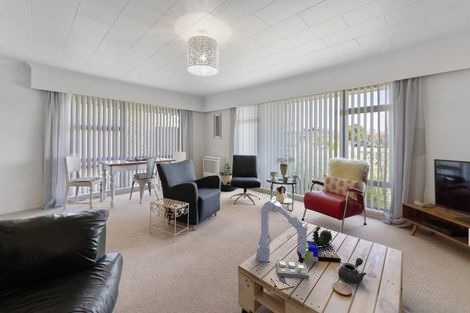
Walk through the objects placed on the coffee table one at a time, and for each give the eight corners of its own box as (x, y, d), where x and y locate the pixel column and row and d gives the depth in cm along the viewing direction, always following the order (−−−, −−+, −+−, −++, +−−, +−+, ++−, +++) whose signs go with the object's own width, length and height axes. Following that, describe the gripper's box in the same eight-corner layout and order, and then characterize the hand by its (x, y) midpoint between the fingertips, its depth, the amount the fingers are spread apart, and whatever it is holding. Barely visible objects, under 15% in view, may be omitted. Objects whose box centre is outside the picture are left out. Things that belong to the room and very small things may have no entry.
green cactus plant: (320, 254, 161) (336, 242, 176) (320, 231, 159) (336, 221, 174) (309, 249, 168) (325, 238, 184) (309, 227, 166) (325, 217, 181)
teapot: (362, 290, 119) (363, 273, 118) (334, 277, 130) (335, 262, 130) (372, 276, 131) (373, 261, 131) (346, 266, 143) (347, 251, 142)
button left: (279, 266, 138) (280, 264, 137) (279, 263, 141) (279, 261, 141) (285, 267, 137) (285, 264, 137) (285, 264, 141) (285, 261, 140)
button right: (298, 270, 136) (298, 267, 136) (297, 267, 139) (297, 264, 139) (304, 270, 135) (304, 268, 135) (303, 267, 139) (303, 265, 139)
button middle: (289, 267, 137) (289, 265, 137) (288, 264, 140) (288, 262, 140) (294, 268, 136) (294, 265, 136) (294, 265, 140) (294, 262, 140)
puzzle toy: (317, 261, 148) (318, 248, 147) (303, 259, 150) (303, 246, 149) (315, 254, 157) (315, 241, 157) (301, 252, 159) (302, 240, 159)
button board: (277, 275, 131) (277, 272, 131) (276, 262, 145) (276, 259, 145) (309, 278, 128) (309, 275, 128) (304, 265, 142) (304, 262, 142)
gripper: (310, 248, 129) (309, 269, 129) (305, 238, 143) (305, 257, 144) (298, 247, 130) (297, 268, 130) (295, 237, 144) (294, 256, 145)
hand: (301, 262), depth 137 cm, fingers closed
